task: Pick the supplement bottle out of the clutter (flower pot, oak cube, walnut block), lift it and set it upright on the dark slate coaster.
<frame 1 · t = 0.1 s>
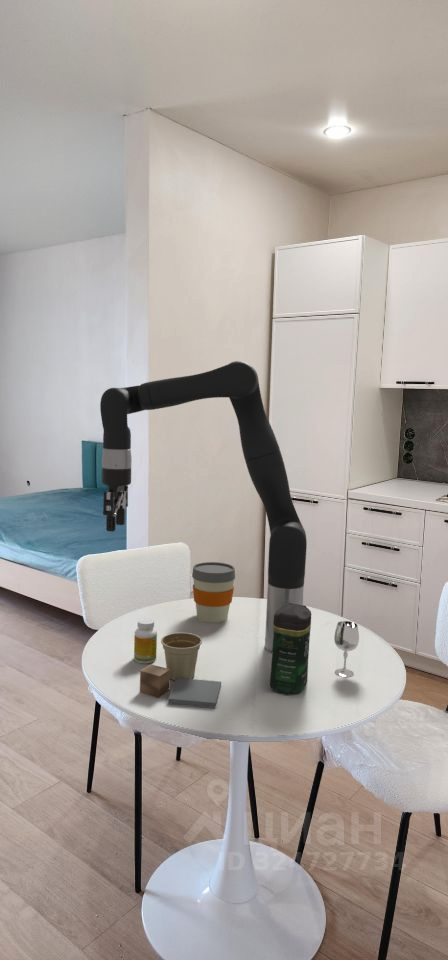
hand: (115, 527, 165), 29 cm above the table, tool pointing down, fingers open, 8 cm apart
coaster: (195, 695, 137), on the table
flower pot: (180, 676, 146), on the table
reusable coffee cup: (212, 617, 186), on the table
oak cube: (183, 658, 156), on the table
wineglass: (344, 673, 151), on the table
walnut block: (154, 691, 138), on the table
supplement bottle: (145, 660, 154), on the table
coffee jar: (288, 687, 143), on the table
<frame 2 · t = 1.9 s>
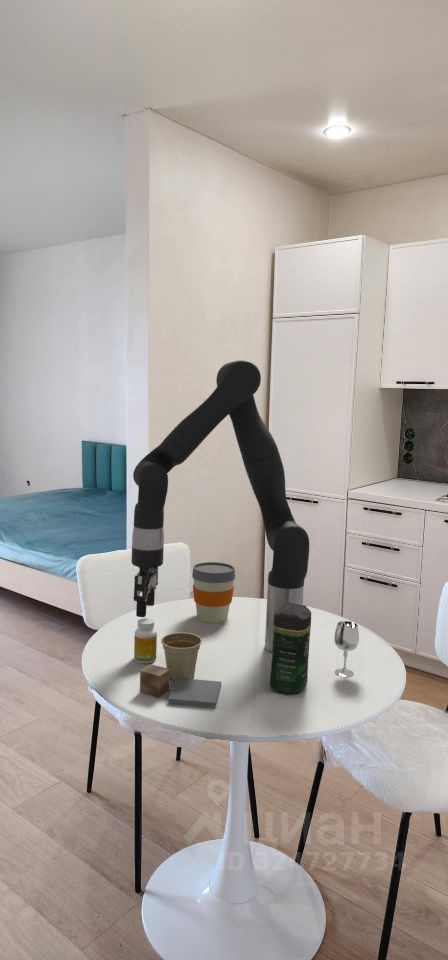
hand: (145, 610, 153), 12 cm above the table, tool pointing down, fingers open, 8 cm apart
nothing on the table moved.
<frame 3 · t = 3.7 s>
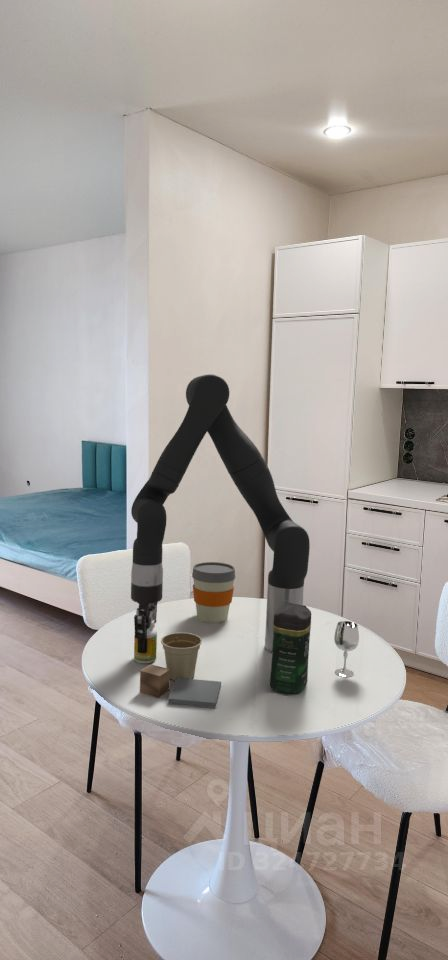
hand: (145, 647, 154), 3 cm above the table, tool pointing down, fingers closed on supplement bottle, 5 cm apart
supplement bottle: (145, 660, 154), on the table, touching gripper
everything else where it was.
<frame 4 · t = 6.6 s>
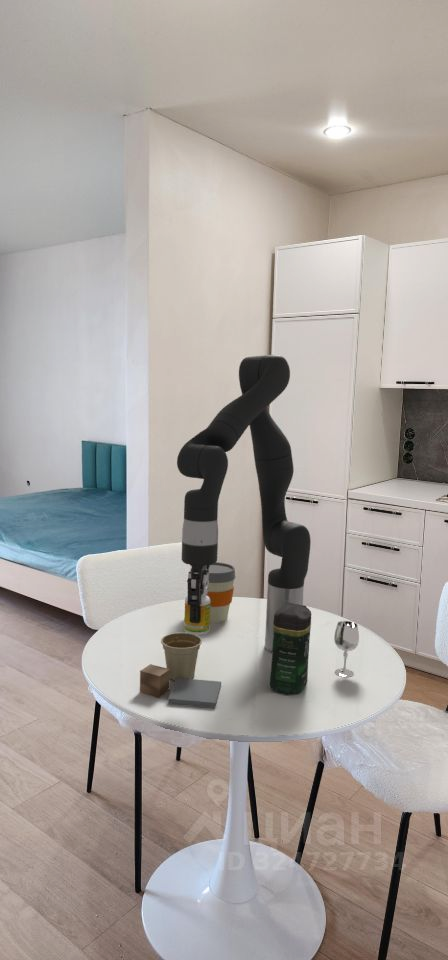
hand: (197, 617, 135), 17 cm above the table, tool pointing down, fingers closed on supplement bottle, 5 cm apart
supplement bottle: (196, 631, 135), point 14 cm above the table, touching gripper
everything else where it was.
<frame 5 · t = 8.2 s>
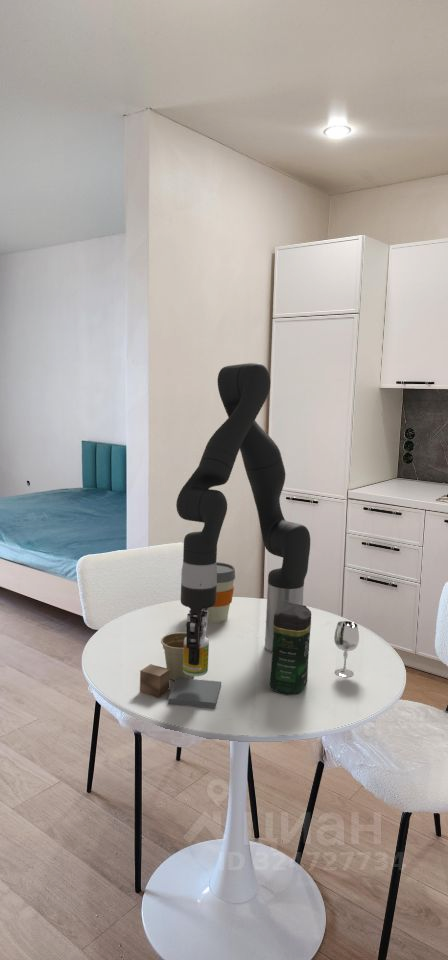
hand: (196, 658, 136), 8 cm above the table, tool pointing down, fingers closed on supplement bottle, 5 cm apart
supplement bottle: (195, 672, 136), point 5 cm above the table, touching gripper
everything else where it was.
when the fingers open (6 cm above the table, at t = 9.7 s): supplement bottle drops 1 cm, resting on coaster.
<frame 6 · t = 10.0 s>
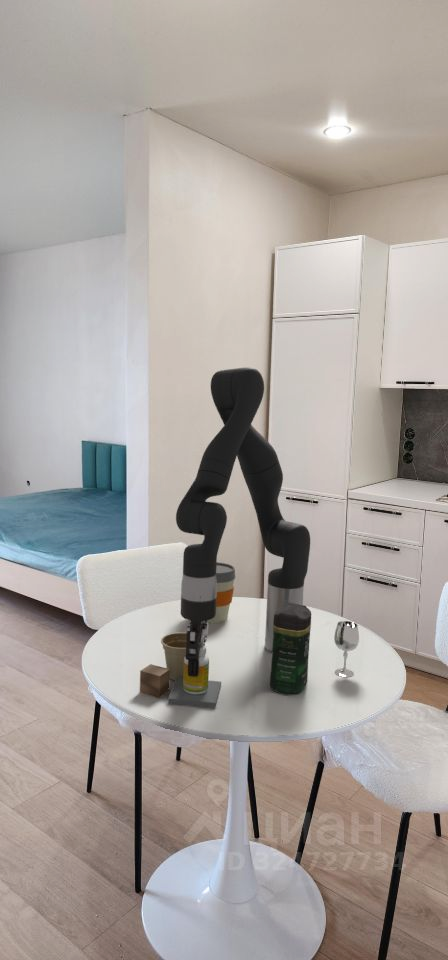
hand: (196, 667, 136), 6 cm above the table, tool pointing down, fingers open, 8 cm apart
supplement bottle: (195, 690, 137), point 1 cm above the table, touching coaster
everything else where it was.
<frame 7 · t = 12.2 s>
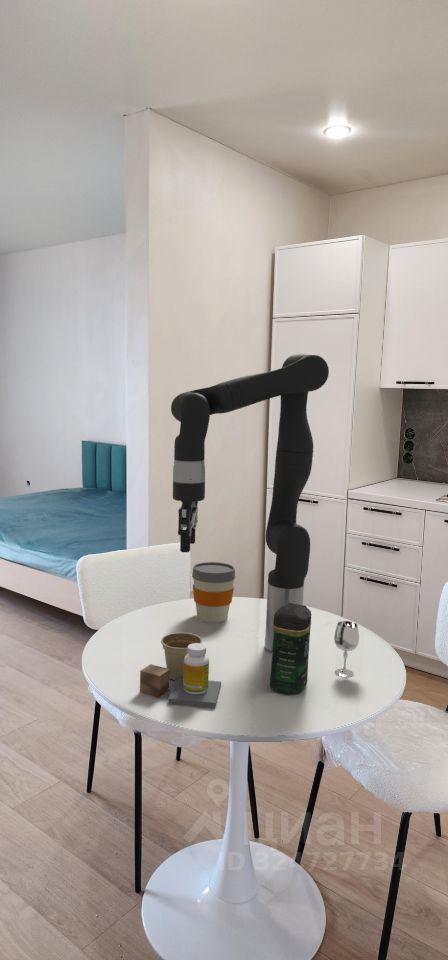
hand: (187, 547, 149), 29 cm above the table, tool pointing down, fingers open, 8 cm apart
nothing on the table moved.
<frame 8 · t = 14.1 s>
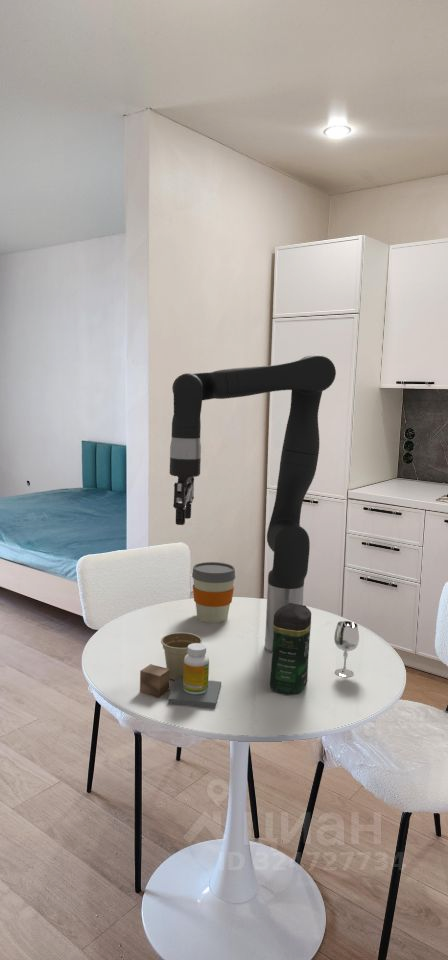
hand: (183, 521, 157), 33 cm above the table, tool pointing down, fingers open, 8 cm apart
nothing on the table moved.
at the end: supplement bottle inside the target area on the coaster (0.1 cm from its centre), point 1.0 cm above the coaster's base; supplement bottle tilted 0°; the gripper is holding nothing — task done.
